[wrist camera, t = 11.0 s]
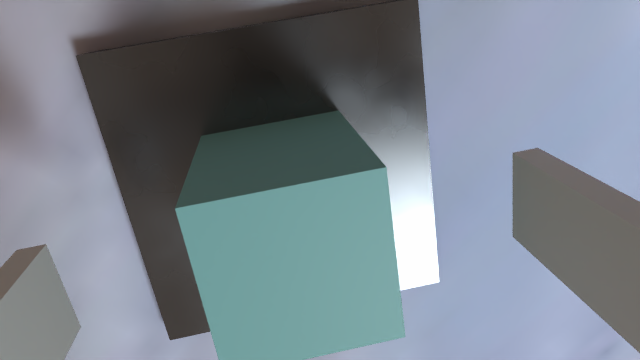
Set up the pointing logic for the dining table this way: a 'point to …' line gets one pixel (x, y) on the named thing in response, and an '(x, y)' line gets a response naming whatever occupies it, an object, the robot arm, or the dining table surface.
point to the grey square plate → (262, 108)
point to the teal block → (292, 240)
